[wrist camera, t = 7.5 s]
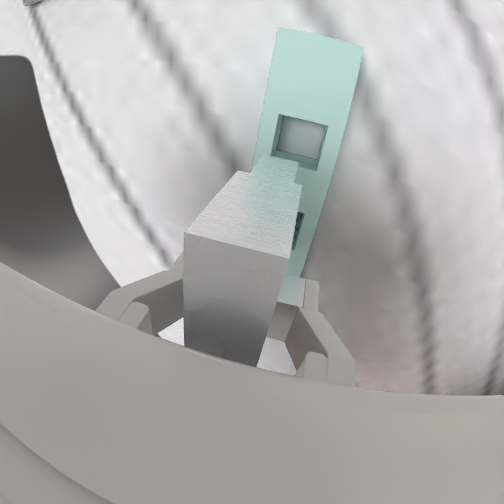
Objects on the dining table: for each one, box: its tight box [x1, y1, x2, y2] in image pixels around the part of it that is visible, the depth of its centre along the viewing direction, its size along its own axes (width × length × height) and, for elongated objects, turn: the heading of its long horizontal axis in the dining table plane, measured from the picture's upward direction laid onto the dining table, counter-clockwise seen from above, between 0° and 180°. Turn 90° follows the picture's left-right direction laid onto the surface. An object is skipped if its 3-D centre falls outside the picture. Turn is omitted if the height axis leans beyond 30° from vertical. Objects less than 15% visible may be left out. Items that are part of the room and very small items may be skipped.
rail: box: [252, 27, 364, 277], centre depth 19 cm, size 5×20×3 cm, turn 170°
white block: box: [183, 155, 302, 367], centre depth 10 cm, size 8×2×8 cm, turn 171°
